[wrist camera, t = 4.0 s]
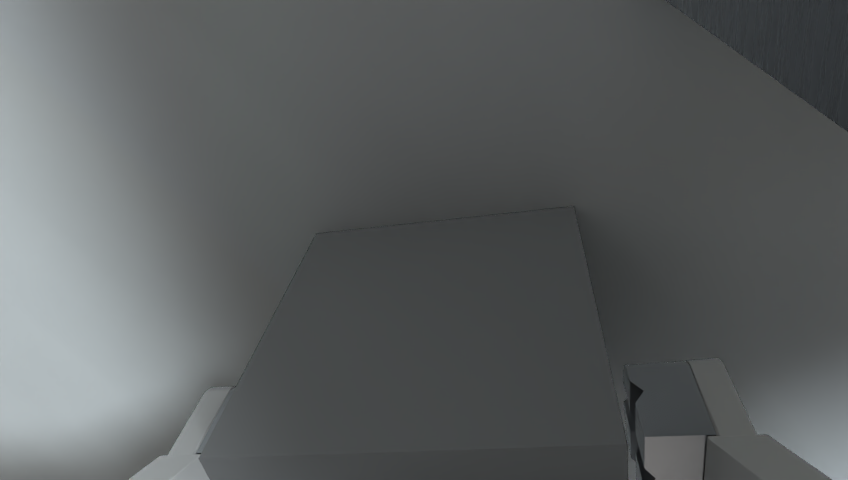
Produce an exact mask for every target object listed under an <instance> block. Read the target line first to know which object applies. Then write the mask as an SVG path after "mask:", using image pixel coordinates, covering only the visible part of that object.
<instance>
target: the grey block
mask: <svg viewBox="0 0 848 480" xmlns="http://www.w3.org/2000/svg"><path fill="white" fill-rule="evenodd" d="M198 459H199V461H200V463H201V464H202V466H203V468H204V470H205V472H206V474H207V476H208V477H209V479H210V480H628V450H627V440H626V436H625V431H624V427H623V422H622V418H621V414H620V409H619V405H618V400H617V396H616V391H615V387H614V382H613V378H612V373H611V369H610V365H609V360H608V356H607V351H606V347H605V342H604V338H603V333H602V329H601V325H600V320H599V316H598V311H597V307H596V302H595V298H594V293H593V289H592V285H591V280H590V276H589V271H588V267H587V262H586V258H585V253H584V249H583V244H582V240H581V236H580V231H579V227H578V222H577V218H576V213H575V209H574V206H572V207H562V208H553V209H543V210H534V211H524V212H515V213H506V214H496V215H487V216H477V217H468V218H458V219H449V220H440V221H430V222H421V223H411V224H402V225H392V226H383V227H374V228H364V229H355V230H345V231H336V232H326V233H317V234H316V235H315V237H314V239H313V241H312V243H311V245H310V246H309V248H308V250H307V252H306V254H305V256H304V258H303V260H302V262H301V264H300V266H299V267H298V269H297V271H296V273H295V275H294V277H293V279H292V281H291V283H290V285H289V287H288V289H287V290H286V292H285V294H284V296H283V298H282V300H281V302H280V304H279V306H278V308H277V310H276V311H275V313H274V315H273V317H272V319H271V321H270V323H269V325H268V327H267V329H266V331H265V332H264V334H263V336H262V338H261V340H260V342H259V344H258V346H257V348H256V350H255V352H254V353H253V355H252V357H251V359H250V361H249V363H248V365H247V367H246V369H245V371H244V373H243V374H242V376H241V378H240V380H239V382H238V384H237V386H236V388H235V390H234V392H233V394H232V395H231V397H230V399H229V401H228V403H227V405H226V407H225V409H224V411H223V413H222V415H221V416H220V418H219V420H218V422H217V424H216V426H215V428H214V430H213V432H212V434H211V436H210V437H209V439H208V441H207V443H206V445H205V447H204V449H203V451H202V453H201V455H200V457H199V458H198Z"/></svg>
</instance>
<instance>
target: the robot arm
mask: <svg viewBox="0 0 848 480" xmlns="http://www.w3.org/2000/svg"><path fill="white" fill-rule="evenodd" d="M623 383H624V387H625V392H626V396H627V398H626V399H625V401H624V417H625V428H626V435H627V441H628V446H629V451H630V455H631V458H632V459H633V460H635V461H636V480H832V479H830V478H829V477H828V476H826V475H825V474H823V473H822V472H820V471H819V470H818V469H816V468H815V467H813V466H812V465H810V464H809V463H808V462H806V461H805V460H803V459H802V458H800V457H799V456H797V455H796V454H795V453H793V452H792V451H790V450H789V449H787V448H786V447H785V446H783V445H782V444H780V443H779V442H777V441H776V440H774V439H773V438H772V437H770V436H769V435H767V434H766V435H757V434H756V431H755V429H754V427H753V425H752V423H751V421H750V419H749V417H748V415H747V412H746V410H745V408H744V406H743V404H742V402H741V400H740V398H739V395H738V393H737V391H736V389H735V387H734V385H733V383H732V381H731V378H730V376H729V374H728V372H727V370H726V368H725V366H724V364H723V362H722V361H721V360H720V359H718V358H712V359H698V360H686V362H685V361H674V362H658V363H643V364H628V365H624V369H623ZM235 388H236V386H235V387H211V388H210V389H208V390H207V391H205V393H204V394H203V396H202V397H201V399H200V401H199V403H198V404H197V406H196V408H195V409H194V411H193V413H192V414H191V416H190V418H189V420H188V421H187V423H186V425H185V426H184V428H183V430H182V431H181V433H180V435H179V437H178V438H177V440H176V442H175V443H174V445H173V447H172V448H171V450H170V452H169V454H168V455H164V456H159V457H158V458H156V459H155V460H154V461H152V462H151V463H150V464H148V465H147V466H146V467H144V468H143V469H142V470H140V471H139V472H138V473H136V474H135V475H134V476H132V477H131V478H130V479H128V480H210V479H209V477H208V476H207V474H206V472H205V470H204V468H203V466H202V464H201V463H200V461H199V459H198V458H199V457H200V455H201V453H202V451H203V449H204V447H205V445H206V443H207V441H208V439H209V437H210V436H211V434H212V432H213V430H214V428H215V426H216V424H217V422H218V420H219V418H220V416H221V415H222V413H223V411H224V409H225V407H226V405H227V403H228V401H229V399H230V397H231V395H232V394H233V392H234V390H235Z"/></svg>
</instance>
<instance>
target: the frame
mask: <svg viewBox="0 0 848 480" xmlns="http://www.w3.org/2000/svg"><path fill="white" fill-rule="evenodd" d="M666 1H667V2H669V3H670V4H671V5H673V6H674V7H675V8H677V9H678V10H680V11H681V12H682V13H684V14H685V15H687V16H688V17H689V18H691V19H692V20H693V21H695V22H696V23H698V24H699V25H700V26H702V27H703V28H705V29H706V30H707V31H709V32H710V33H712V34H713V35H714V36H716V37H717V38H718V39H720V40H721V41H723V42H724V43H725V44H727V45H728V46H730V47H731V48H732V49H734V50H735V51H736V52H738V53H739V54H741V55H742V56H743V57H745V58H746V59H748V60H749V61H750V62H752V63H753V64H754V65H756V66H757V67H759V68H760V69H761V70H763V71H764V72H766V73H767V74H768V75H770V76H771V77H773V78H774V79H775V80H777V81H778V82H779V83H781V84H782V85H784V86H785V87H786V88H788V89H789V90H791V91H792V92H793V93H795V94H796V95H797V96H799V97H800V98H802V99H803V100H804V101H806V102H807V103H809V104H810V105H811V106H813V107H814V108H815V109H817V110H818V111H820V112H821V113H822V114H824V115H825V116H827V117H828V118H829V119H831V120H832V121H834V122H835V123H836V124H838V125H839V126H840V127H842V128H843V129H845V130H846V131H847V132H848V0H666Z"/></svg>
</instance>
